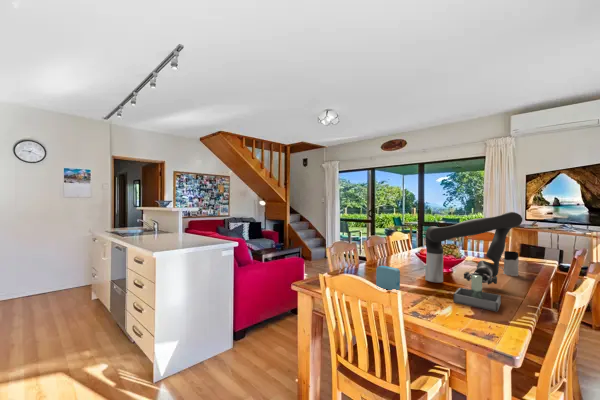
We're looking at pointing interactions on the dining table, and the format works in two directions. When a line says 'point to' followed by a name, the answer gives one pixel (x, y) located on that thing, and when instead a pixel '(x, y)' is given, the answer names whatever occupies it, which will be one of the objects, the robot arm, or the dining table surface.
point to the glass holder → (510, 263)
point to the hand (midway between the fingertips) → (478, 280)
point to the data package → (388, 277)
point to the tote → (487, 301)
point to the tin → (476, 286)
